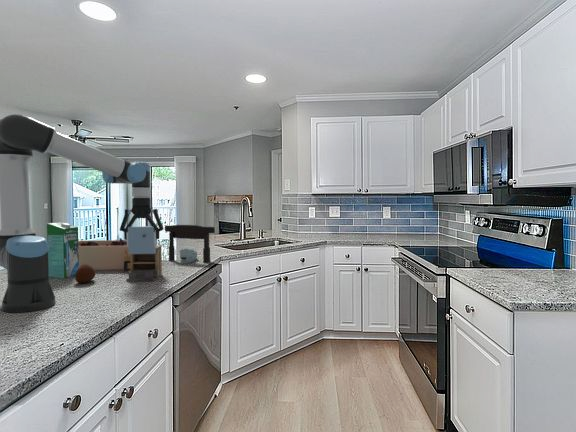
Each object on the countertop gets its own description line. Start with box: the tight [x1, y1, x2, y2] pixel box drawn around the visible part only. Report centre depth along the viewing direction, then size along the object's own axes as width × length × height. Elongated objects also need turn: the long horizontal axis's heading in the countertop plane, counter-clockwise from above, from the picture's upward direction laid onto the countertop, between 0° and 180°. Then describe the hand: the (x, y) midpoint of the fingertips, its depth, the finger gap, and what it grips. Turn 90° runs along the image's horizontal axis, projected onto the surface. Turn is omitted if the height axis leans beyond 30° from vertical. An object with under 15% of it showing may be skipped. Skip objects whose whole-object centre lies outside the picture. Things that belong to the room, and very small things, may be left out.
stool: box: [164, 224, 216, 264], centre depth 228 cm, size 16×21×33 cm
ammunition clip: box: [123, 247, 130, 272], centre depth 199 cm, size 11×2×12 cm, turn 108°
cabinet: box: [125, 245, 163, 282], centre depth 180 cm, size 14×12×14 cm
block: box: [128, 225, 156, 254], centre depth 175 cm, size 4×11×12 cm, turn 95°
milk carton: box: [46, 221, 79, 279], centre depth 184 cm, size 9×9×25 cm
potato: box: [74, 264, 96, 284], centre depth 171 cm, size 8×12×8 cm, turn 10°
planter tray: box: [78, 239, 128, 271], centre depth 214 cm, size 27×38×12 cm
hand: (142, 246), depth 176 cm, fingers closed on block, 11 cm apart
